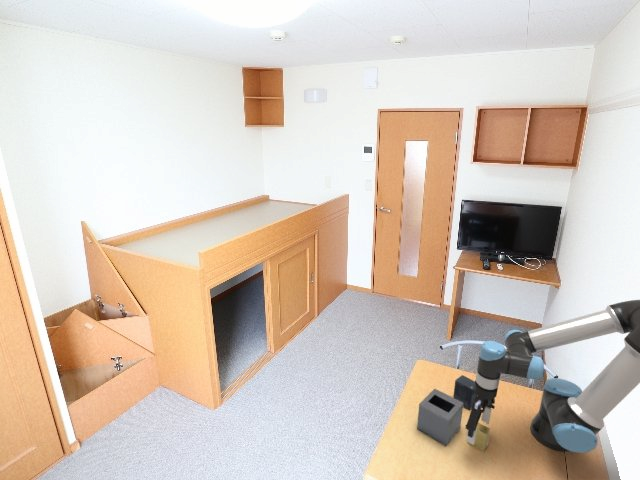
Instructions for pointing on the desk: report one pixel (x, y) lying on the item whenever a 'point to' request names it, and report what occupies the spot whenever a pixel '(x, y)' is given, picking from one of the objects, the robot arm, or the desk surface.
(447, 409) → the gray slotted cube
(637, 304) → the robot arm
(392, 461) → the desk surface
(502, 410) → the desk surface
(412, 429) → the desk surface
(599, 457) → the desk surface
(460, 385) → the box
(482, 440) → the yellow rectangular block
